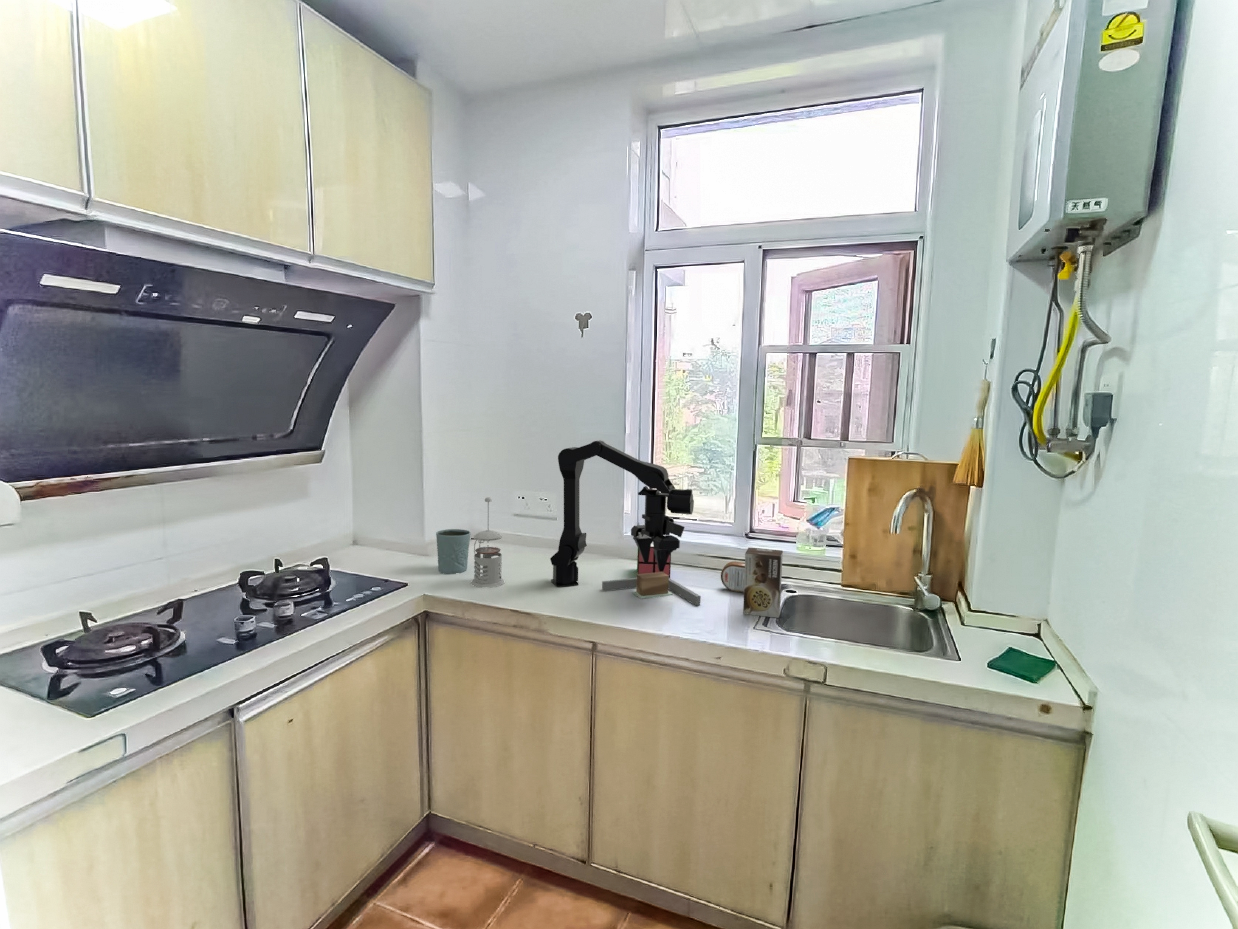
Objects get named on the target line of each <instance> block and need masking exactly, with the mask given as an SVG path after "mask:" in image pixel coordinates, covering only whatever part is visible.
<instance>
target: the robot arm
mask: <svg viewBox="0 0 1238 929" xmlns="http://www.w3.org/2000/svg"><path fill="white" fill-rule="evenodd" d="M596 456H597V457H599V458H600V459H603V460H605V461H606V462H609V463H611V464H612V465H615V466H616V467H618V468H620V469H623V470H625V471H627V472H629V473H631V474H632V475H633V476H634V477H635V478H637V479H638V480H639V481H640V483H641V482H642V484H644V486H643V487H642V488H641V490H640V491H638V492H637V494H638V495H639V496H645V500H644V501H645V502H644V514H641V518H642V519H644V524H640V525H639V524H638V525H633V527H632V528H631V529H630V536H631V537H632V540H633V541H634V543H635V544H636V546H637V550H638V549H639V551H640V554H641V556H642V559H643V561H644V563H648V561H649V555H650V547H651V543H652V542H653V541H654V542H653V544H654V547H655V548H653V550H654V554H655V558H656V562H657V566H658V569H659V571H660V572H663V571H664V568H665V565H666V562H667V560H668V557H669V555H670V553H671V554H672V553H673V552H674V551H677V550H678V549H680V548H681V540H680V539H679V538H682V536H683V533H684V530H685V526H684V525H681V524H678V523H675V521H674V520H675V519H674V518H671V517H669V516H668V515H666V510H668V511H670V513H671V514H680V515H692V514H693V513H694V505H695V501H694V494H693V489H691V488H685V489H682V488H676V487H675V486H674V484H673V482H672V481H671V480H670V478H669V472H668V470H667V468H665V467H664V466H662V465H658V464H655V463H651V462H647V461H643V460H640V459H637V458H636V457H633V456H632V455H630V454H628V453H625V452H623V451H621V450H620V449H617V448H615V447H613V446H611V445H610V444H607V443H606V442H605V441H604V440H601V439H599V440H594V441H592V442H590V443H588V444H585V445H582V446H580V447H578V446H577V447H576V446H574V447H573V446H572V447H568V448H564V449H562V450H561V451H560V452H559V453H558V455H557V462H558V468H559V472H560V474H561V476H562V478H563V528H562V532H561V534H560V538H559V541H558V542H559V543H558V548H557V549H558V550H557V552H555V553H554V554H553V555H552V556H551V557H550V558H549V560H550V563H551V565H552V578H551V579H550V582H551V583H553V584H554V585H555V587H558V588H559V587H569V586H570V587H571V586H578V585H579V567H578V566H577V565H578V563H577V560H578V559H579V556H581V555H582V554H583V552H584V551H585V548H586V547H588V546H587V541H586V540H587V532H582V529H581V527H580V526H581V525H580V479H581V476H582V472H583V471H584V465H585V461H586V460H588V459H591V458H594V457H596ZM671 534H672V535H671ZM676 536H677V537H676Z"/></svg>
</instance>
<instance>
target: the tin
mask: <svg viewBox="0 0 1238 929" xmlns="http://www.w3.org/2000/svg"><path fill="white" fill-rule="evenodd" d="M744 578H745V562H741V561H736V560H735V561H730V562H728V563H726V564H725V565H724V566H723V568H722V570H721V572H720V581H721V583H722V585H723V586H724V587H725V588H726V589H727V590H728V591H730V592H731V591H732V592H736V593H743V594H744Z"/></svg>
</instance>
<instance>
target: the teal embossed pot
mask: <svg viewBox="0 0 1238 929" xmlns="http://www.w3.org/2000/svg"><path fill="white" fill-rule="evenodd" d="M435 536H436V547H437V548H436V549H437V550H436V551H437V570H438V572H439V573H440V574H443V573H444V574H445V575H457V574H456V573H459V574H463V573H465V572H467V570H468V560H469V550H470V549H469V548H470V541H471V531H469V530H466V529H461V528H460V529H459V528H450V529H442V530H438V531H437V532H435ZM444 574H443V575H444Z"/></svg>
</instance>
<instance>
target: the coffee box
mask: <svg viewBox="0 0 1238 929" xmlns="http://www.w3.org/2000/svg"><path fill="white" fill-rule="evenodd" d="M744 563H745V578H744V593H743V605H742V606H743V610H742V614H743V615H744V614H745V615H752V616H760V617H768V618H769V617H770V618H776V619H777V618H778V619H779V618H780V614H781V599H782V597H781V596H782V579H783V578H782V575H783V574H782V573H783V550H782V549H781V550H780V549H769V548H758V547H748V548H747V549H746V551H745V553H744Z"/></svg>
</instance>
